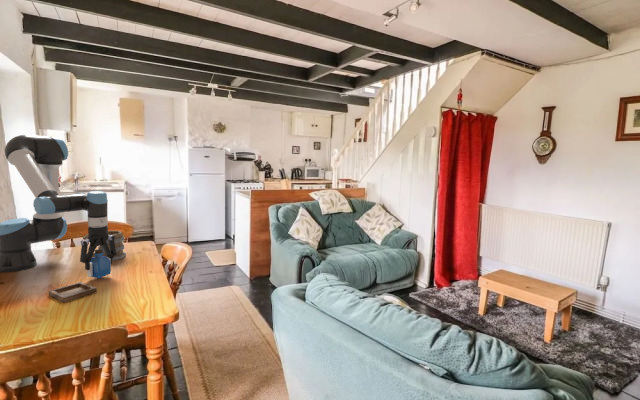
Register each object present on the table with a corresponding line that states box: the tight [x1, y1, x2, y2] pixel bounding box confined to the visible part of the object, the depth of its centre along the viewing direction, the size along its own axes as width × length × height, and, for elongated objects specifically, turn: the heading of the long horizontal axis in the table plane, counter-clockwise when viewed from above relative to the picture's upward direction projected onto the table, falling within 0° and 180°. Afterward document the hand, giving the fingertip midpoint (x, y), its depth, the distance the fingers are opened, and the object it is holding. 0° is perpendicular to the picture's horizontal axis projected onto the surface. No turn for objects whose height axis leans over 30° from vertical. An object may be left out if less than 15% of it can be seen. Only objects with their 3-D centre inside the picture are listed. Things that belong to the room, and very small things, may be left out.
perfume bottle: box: [87, 248, 112, 279], centre depth 153 cm, size 6×6×12 cm
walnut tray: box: [48, 281, 98, 304], centre depth 137 cm, size 12×12×2 cm
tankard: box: [82, 230, 127, 262], centre depth 180 cm, size 20×13×15 cm, turn 144°
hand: (99, 273), depth 154 cm, fingers closed on perfume bottle, 7 cm apart
